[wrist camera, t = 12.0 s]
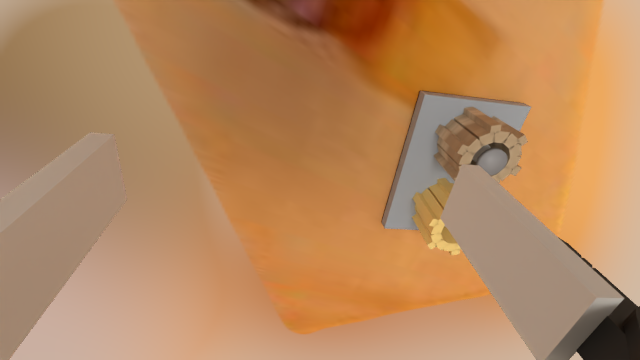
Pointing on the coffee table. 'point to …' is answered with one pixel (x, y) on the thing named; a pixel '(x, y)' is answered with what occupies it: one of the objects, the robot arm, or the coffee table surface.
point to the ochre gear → (434, 216)
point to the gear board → (421, 145)
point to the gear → (477, 142)
